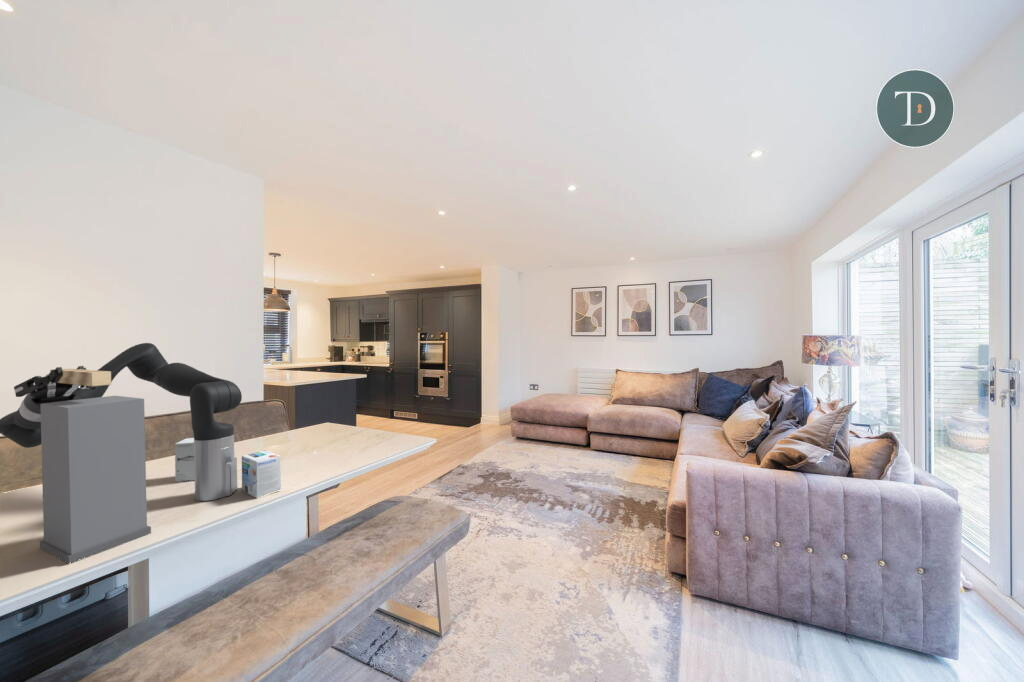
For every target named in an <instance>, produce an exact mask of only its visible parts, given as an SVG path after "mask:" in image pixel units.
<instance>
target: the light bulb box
mask: <svg viewBox="0 0 1024 682" xmlns="http://www.w3.org/2000/svg"><path fill="white" fill-rule="evenodd" d="M281 456H282V455H279V454H276V453H273V452H271V451H267V450H259V451H256V452H252V453H249V454H244V455H241V491H242V490H243V491H242V492H244V491H245V492H244V493H246V492H247V493H246V494H248V493H249V494H250V496H251V495H252V496H251V497H253V496H254V497H253V498H255V497H256V498H255V499H257V498H258V497H261V496H264V495H266V494H268V493H271V492H274V491H277V490H280V489H281V490H282V483H281V482H282V480H281V476H282V475H281V471H282V470H281ZM249 494H248V495H249ZM264 497H265V496H264ZM261 498H262V497H261ZM258 499H259V498H258Z"/></svg>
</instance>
